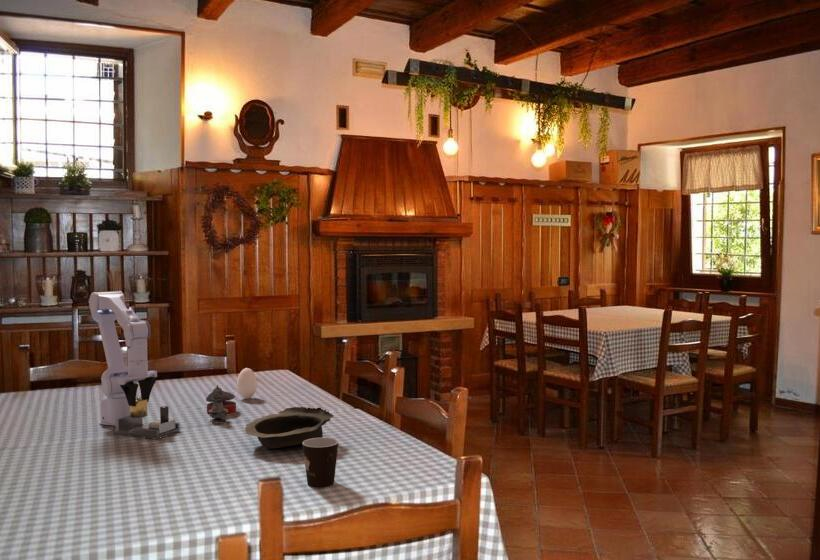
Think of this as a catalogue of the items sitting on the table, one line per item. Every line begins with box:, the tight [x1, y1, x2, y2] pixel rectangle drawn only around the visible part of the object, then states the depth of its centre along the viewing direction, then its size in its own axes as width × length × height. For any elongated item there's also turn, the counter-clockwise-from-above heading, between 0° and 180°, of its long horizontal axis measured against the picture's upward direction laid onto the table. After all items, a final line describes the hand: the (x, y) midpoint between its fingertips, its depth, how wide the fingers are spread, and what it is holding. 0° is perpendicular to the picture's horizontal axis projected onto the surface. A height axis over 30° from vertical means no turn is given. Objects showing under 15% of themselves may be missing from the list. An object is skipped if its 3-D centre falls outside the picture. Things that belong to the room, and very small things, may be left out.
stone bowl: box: [244, 406, 334, 450], centre depth 203 cm, size 25×25×9 cm
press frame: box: [113, 415, 181, 440], centre depth 217 cm, size 16×10×4 cm, turn 68°
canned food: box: [205, 390, 237, 416], centre depth 244 cm, size 11×10×10 cm
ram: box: [148, 405, 176, 434], centre depth 215 cm, size 4×7×7 cm, turn 158°
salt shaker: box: [209, 384, 227, 424], centre depth 231 cm, size 6×6×12 cm
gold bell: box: [130, 395, 148, 418], centre depth 218 cm, size 5×5×6 cm
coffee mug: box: [301, 437, 339, 489], centre depth 168 cm, size 12×9×10 cm
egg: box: [236, 367, 258, 400], centre depth 266 cm, size 7×7×12 cm
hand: (138, 403), depth 218 cm, fingers closed on gold bell, 5 cm apart
